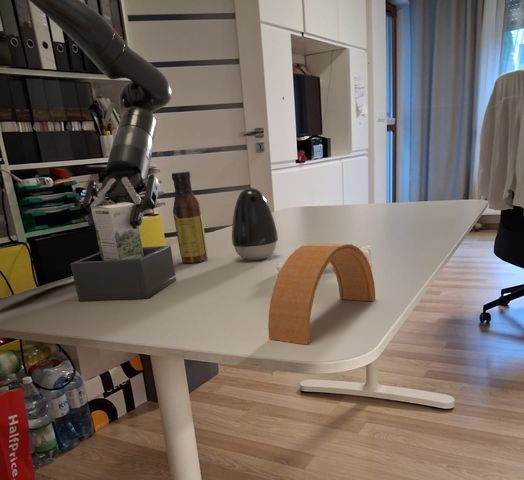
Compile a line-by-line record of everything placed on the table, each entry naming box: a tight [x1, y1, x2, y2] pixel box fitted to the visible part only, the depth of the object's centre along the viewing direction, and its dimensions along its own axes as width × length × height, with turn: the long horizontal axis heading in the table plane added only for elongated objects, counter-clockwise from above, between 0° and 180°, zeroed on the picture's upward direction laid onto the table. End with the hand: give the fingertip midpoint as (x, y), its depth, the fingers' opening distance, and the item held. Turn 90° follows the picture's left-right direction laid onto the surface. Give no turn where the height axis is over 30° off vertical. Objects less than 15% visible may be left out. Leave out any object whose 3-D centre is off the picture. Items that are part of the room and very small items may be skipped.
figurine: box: [275, 243, 373, 273], centre depth 98 cm, size 17×5×18 cm
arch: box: [267, 243, 376, 345], centre depth 70 cm, size 6×20×10 cm, turn 144°
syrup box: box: [91, 202, 144, 261], centre depth 97 cm, size 6×6×14 cm
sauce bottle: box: [171, 170, 208, 264], centre depth 118 cm, size 7×6×20 cm
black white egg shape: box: [231, 187, 279, 261], centre depth 115 cm, size 10×10×15 cm
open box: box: [69, 245, 177, 302], centre depth 98 cm, size 14×13×7 cm
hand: (113, 227), depth 94 cm, fingers closed on syrup box, 7 cm apart
